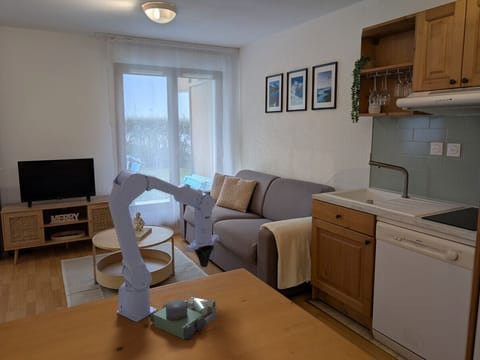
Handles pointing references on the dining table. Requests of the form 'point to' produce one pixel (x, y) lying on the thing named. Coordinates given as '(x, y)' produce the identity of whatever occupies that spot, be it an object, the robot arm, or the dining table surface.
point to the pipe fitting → (202, 305)
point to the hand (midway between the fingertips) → (203, 266)
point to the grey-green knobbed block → (180, 319)
